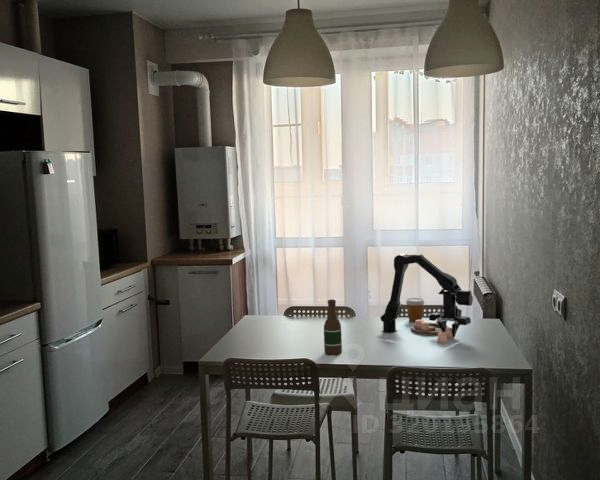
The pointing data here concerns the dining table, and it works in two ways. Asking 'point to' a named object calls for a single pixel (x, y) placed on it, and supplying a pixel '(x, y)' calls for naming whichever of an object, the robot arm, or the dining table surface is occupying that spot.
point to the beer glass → (415, 309)
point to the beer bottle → (332, 331)
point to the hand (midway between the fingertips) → (449, 336)
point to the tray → (433, 330)
